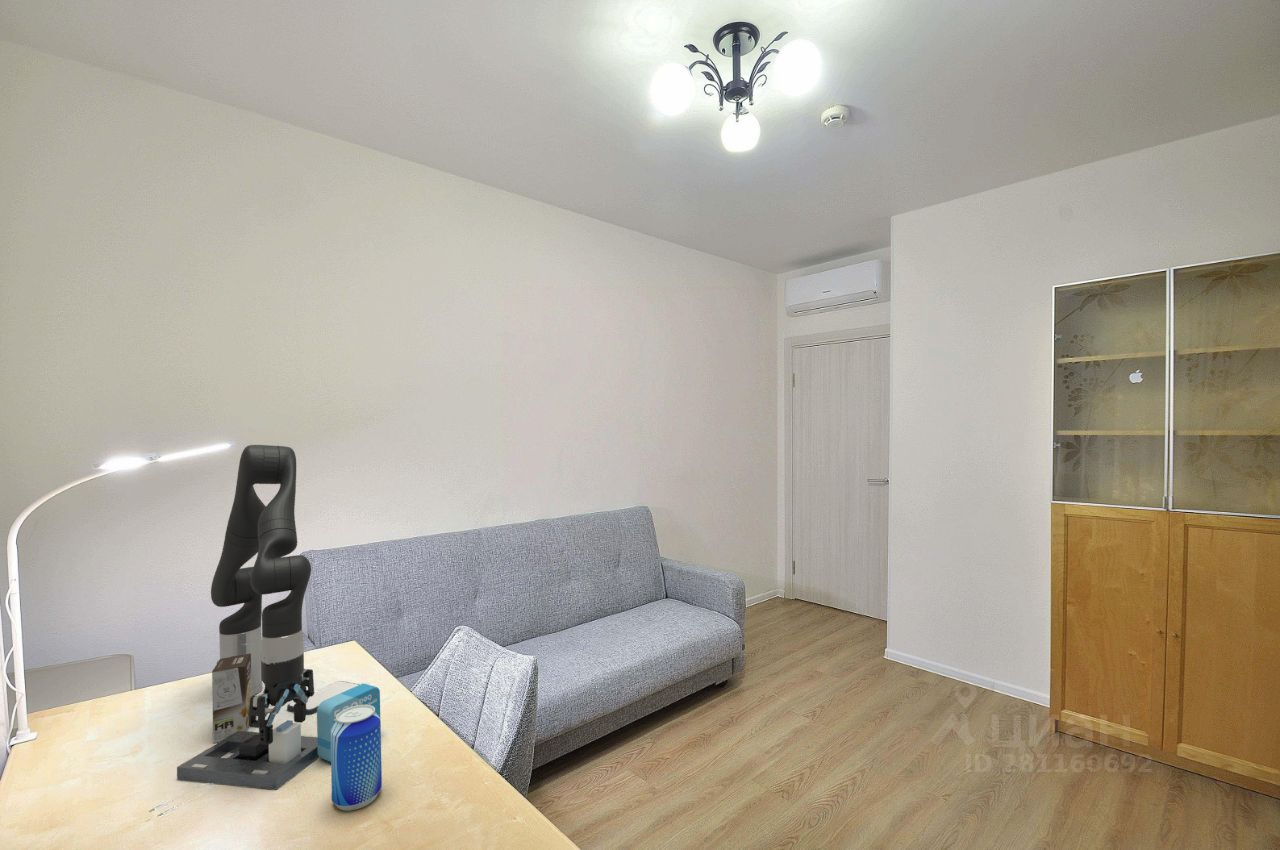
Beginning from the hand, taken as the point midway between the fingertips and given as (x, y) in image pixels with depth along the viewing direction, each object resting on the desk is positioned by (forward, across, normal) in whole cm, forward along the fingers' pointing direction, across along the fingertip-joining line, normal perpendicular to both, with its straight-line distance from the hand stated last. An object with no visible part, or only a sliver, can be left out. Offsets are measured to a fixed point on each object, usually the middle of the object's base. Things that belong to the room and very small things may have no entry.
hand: (283, 732), depth 118 cm
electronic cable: (+8, +12, -11) cm, 18 cm away
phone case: (+8, -28, -14) cm, 32 cm away
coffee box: (+8, -11, -24) cm, 27 cm away
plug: (+7, 0, 0) cm, 7 cm away
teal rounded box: (+7, -8, +9) cm, 14 cm away
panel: (+7, 0, -7) cm, 10 cm away
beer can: (+7, +7, +22) cm, 24 cm away
